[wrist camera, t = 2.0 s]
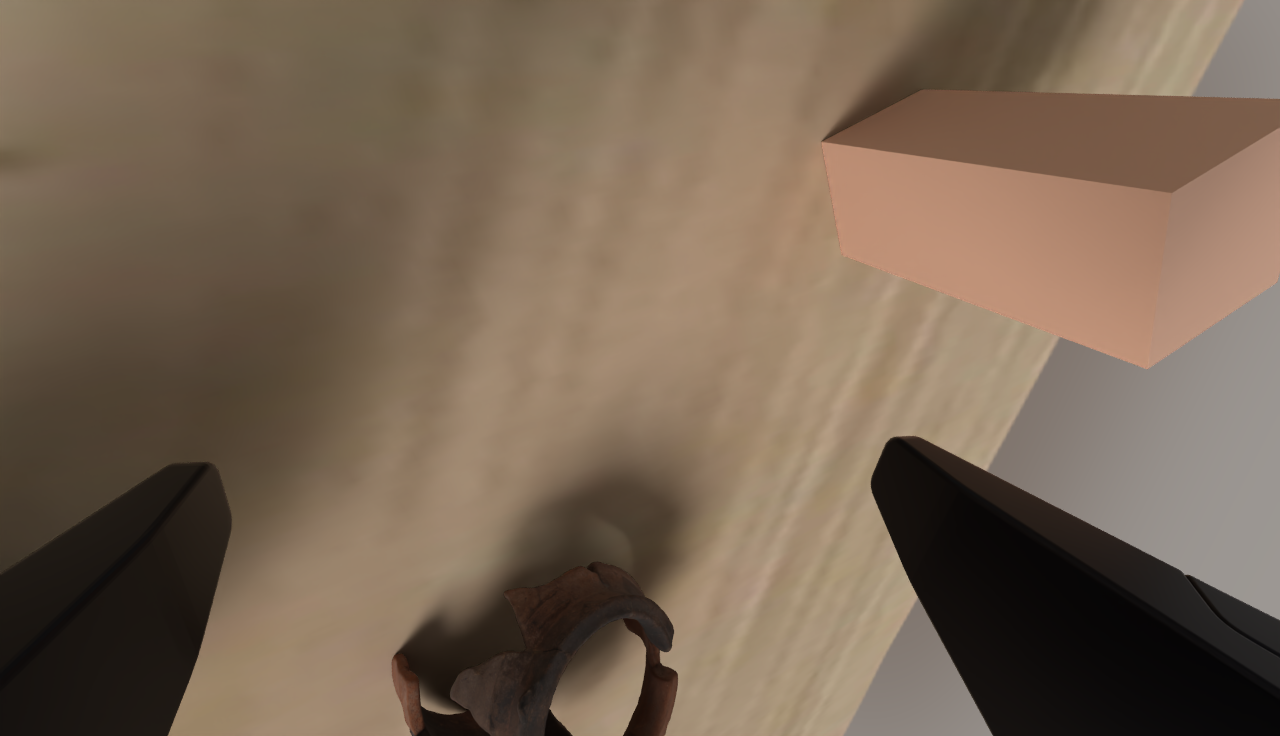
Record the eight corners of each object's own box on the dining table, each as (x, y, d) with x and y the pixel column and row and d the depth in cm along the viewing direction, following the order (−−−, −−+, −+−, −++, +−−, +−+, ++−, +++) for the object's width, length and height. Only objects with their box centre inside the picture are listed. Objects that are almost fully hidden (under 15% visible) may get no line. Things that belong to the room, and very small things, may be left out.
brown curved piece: (339, 603, 22) (460, 693, 16) (541, 486, 28) (678, 522, 23) (431, 857, 25) (561, 1009, 19) (596, 698, 31) (729, 777, 26)
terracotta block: (841, 255, 24) (1147, 369, 14) (821, 141, 21) (1171, 193, 12) (932, 204, 24) (1277, 282, 15) (922, 89, 22) (1324, 100, 13)
